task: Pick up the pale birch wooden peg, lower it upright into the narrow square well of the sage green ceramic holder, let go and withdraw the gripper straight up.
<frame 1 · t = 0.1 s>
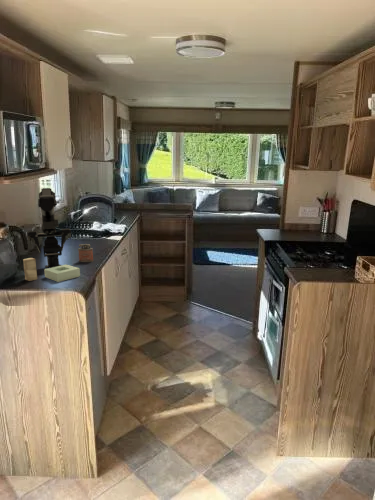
hand: (51, 251, 174), 15 cm above the countertop, tool tilted 30°, fingers open, 9 cm apart
peg: (31, 279, 184), on the countertop
well holder: (62, 276, 188), on the countertop
lighter: (86, 261, 217), on the countertop
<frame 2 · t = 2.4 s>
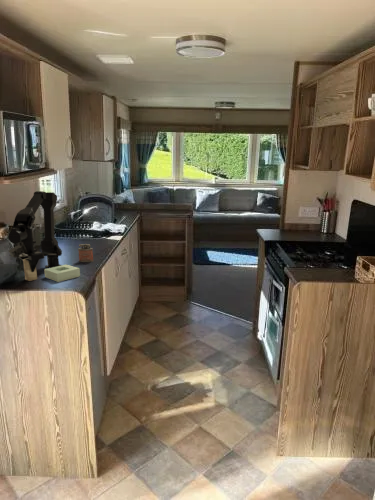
hand: (30, 271, 183), 4 cm above the countertop, tool pointing down, fingers closed on peg, 4 cm apart
peg: (31, 279, 184), on the countertop, touching gripper
everything else where it was.
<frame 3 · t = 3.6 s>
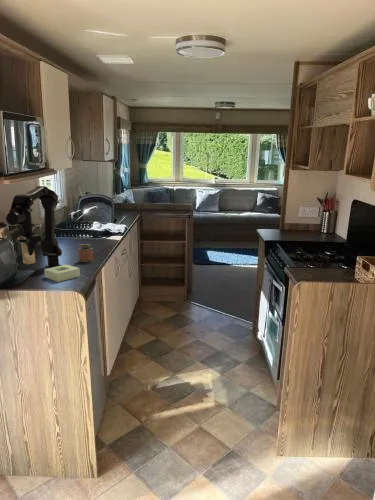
hand: (28, 254, 181), 12 cm above the countertop, tool pointing down, fingers closed on peg, 4 cm apart
peg: (29, 262, 182), point 8 cm above the countertop, touching gripper
everything else where it was.
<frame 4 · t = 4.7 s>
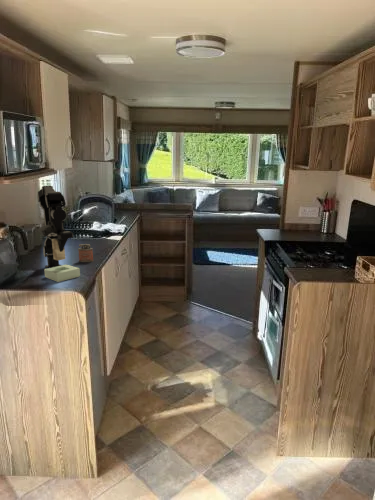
hand: (58, 250, 185), 13 cm above the countertop, tool pointing down, fingers closed on peg, 4 cm apart
peg: (59, 259, 185), point 9 cm above the countertop, touching gripper
everything else where it was.
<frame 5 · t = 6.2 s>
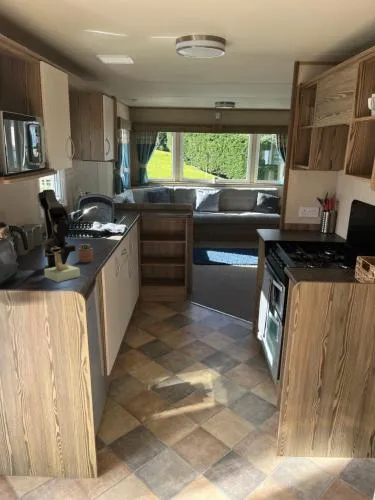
hand: (61, 263, 186), 7 cm above the countertop, tool pointing down, fingers closed on peg, 4 cm apart
peg: (62, 271, 187), point 3 cm above the countertop, touching gripper
everything else where it was.
when the fingers open (5 cm above the countertop, at t = 7.2 s): peg drops 1 cm, resting in well holder.
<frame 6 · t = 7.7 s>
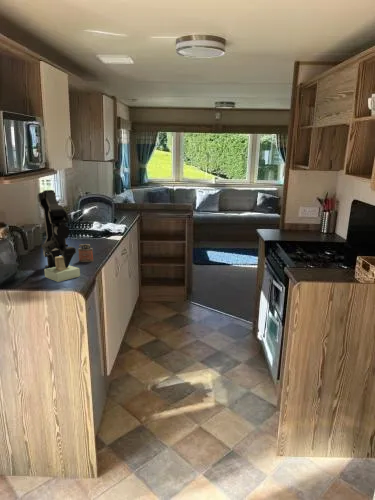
hand: (61, 265, 186), 5 cm above the countertop, tool pointing down, fingers open, 9 cm apart
peg: (62, 276, 188), resting in well holder
everything else where it was.
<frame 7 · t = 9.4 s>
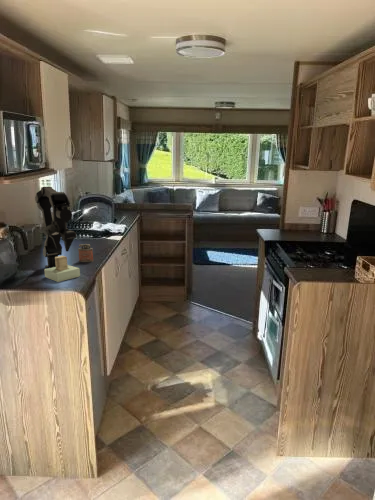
hand: (62, 249, 189), 13 cm above the countertop, tool pointing down, fingers open, 9 cm apart
nothing on the countertop moved.
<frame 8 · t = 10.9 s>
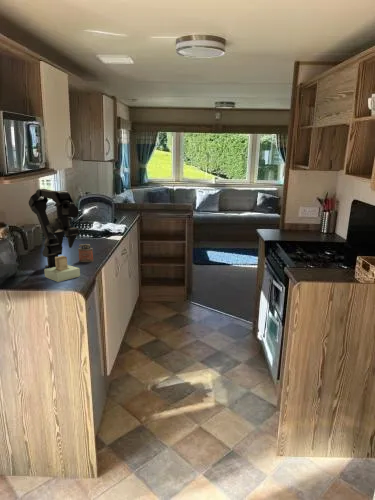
hand: (65, 246, 194), 13 cm above the countertop, tool pointing down, fingers open, 9 cm apart
nothing on the countertop moved.
at the end: peg 0.0 cm off-centre on the well holder, point 0.0 cm above the well holder's base; peg tilted 0°; the gripper is holding nothing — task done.
